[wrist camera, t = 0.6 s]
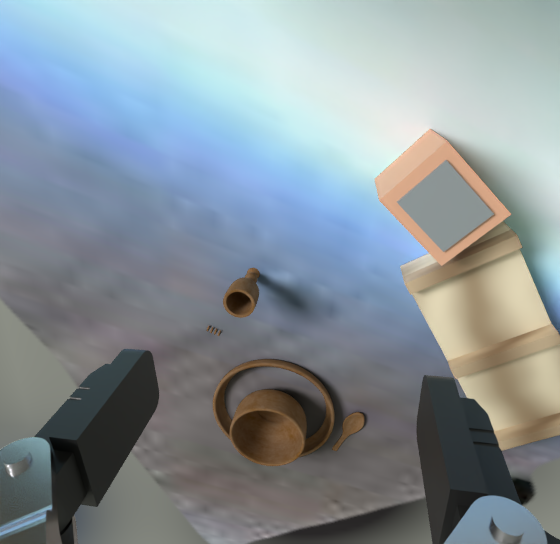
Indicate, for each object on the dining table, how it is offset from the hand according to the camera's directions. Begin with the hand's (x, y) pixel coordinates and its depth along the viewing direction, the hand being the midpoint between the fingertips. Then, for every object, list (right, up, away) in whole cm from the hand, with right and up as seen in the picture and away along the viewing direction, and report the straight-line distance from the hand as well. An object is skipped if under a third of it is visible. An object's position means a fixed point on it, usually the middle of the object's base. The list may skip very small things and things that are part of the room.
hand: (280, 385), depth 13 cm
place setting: (+1, -6, +29) cm, 29 cm away
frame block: (+11, +10, +19) cm, 24 cm away
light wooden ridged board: (+18, -2, +23) cm, 29 cm away
